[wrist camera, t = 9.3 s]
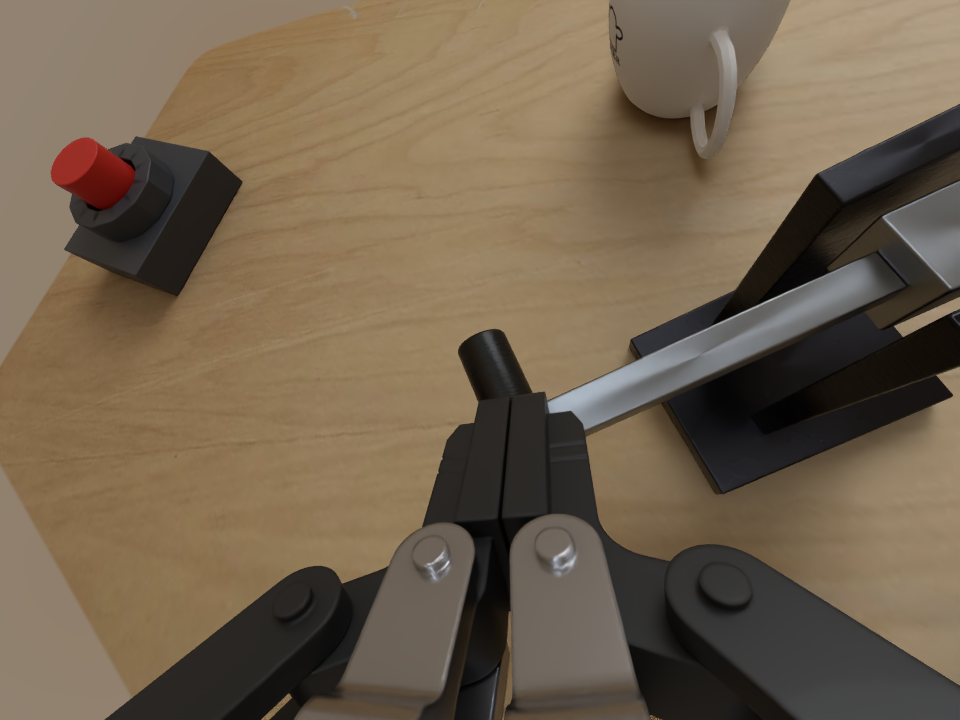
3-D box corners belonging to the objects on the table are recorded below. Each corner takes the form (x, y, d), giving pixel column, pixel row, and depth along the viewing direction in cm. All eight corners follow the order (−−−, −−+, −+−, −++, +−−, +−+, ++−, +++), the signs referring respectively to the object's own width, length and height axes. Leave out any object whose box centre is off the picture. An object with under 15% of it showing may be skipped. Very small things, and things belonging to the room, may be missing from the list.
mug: (598, 50, 29) (599, -100, 22) (738, 13, 27) (792, -164, 20) (624, 202, 25) (637, 83, 18) (789, 172, 23) (878, 25, 16)
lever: (551, 561, 11) (544, 575, 9) (467, 364, 14) (445, 338, 11) (1045, 348, 11) (1170, 307, 8) (872, 175, 13) (935, 105, 11)
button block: (177, 296, 32) (106, 262, 27) (109, 270, 34) (33, 235, 30) (242, 181, 34) (186, 130, 29) (173, 165, 36) (110, 116, 31)
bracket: (715, 494, 20) (897, 493, 8) (628, 346, 23) (666, 184, 11) (934, 401, 19) (1510, 243, 7) (813, 259, 22) (1078, -23, 10)
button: (117, 215, 29) (74, 189, 26) (84, 205, 30) (40, 180, 27) (145, 169, 29) (106, 141, 27) (112, 161, 30) (71, 133, 28)
